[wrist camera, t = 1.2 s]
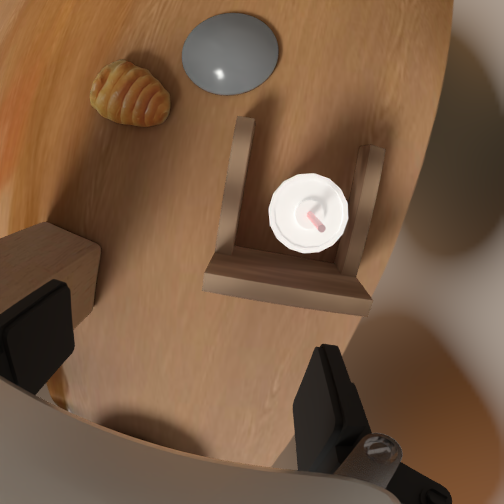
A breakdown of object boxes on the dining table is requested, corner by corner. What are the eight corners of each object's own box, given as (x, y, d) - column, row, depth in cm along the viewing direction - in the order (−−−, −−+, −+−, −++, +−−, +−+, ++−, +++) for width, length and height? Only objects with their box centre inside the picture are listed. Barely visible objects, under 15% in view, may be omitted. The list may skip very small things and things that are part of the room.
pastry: (187, 89, 28) (177, 80, 25) (155, 143, 30) (141, 142, 26) (121, 59, 27) (106, 50, 23) (93, 110, 29) (75, 106, 25)
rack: (239, 120, 29) (230, 104, 20) (373, 149, 29) (411, 147, 20) (217, 257, 33) (202, 290, 24) (343, 279, 33) (367, 316, 25)
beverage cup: (254, 195, 31) (248, 220, 18) (301, 158, 30) (331, 155, 16) (291, 240, 32) (310, 295, 19) (337, 204, 31) (387, 236, 18)
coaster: (194, 12, 25) (193, 10, 25) (284, 21, 25) (285, 19, 25) (174, 91, 28) (173, 89, 27) (269, 102, 28) (269, 101, 28)
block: (45, 218, 32) (-75, 268, 13) (105, 243, 33) (-14, 322, 14) (39, 284, 35) (-56, 354, 16) (95, 312, 36) (6, 409, 17)
